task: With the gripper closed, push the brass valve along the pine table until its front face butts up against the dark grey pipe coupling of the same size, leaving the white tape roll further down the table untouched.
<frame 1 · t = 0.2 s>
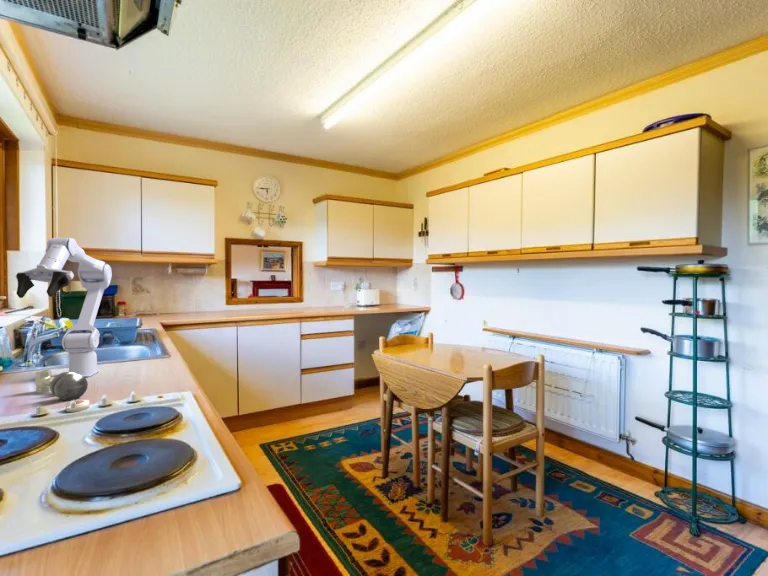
hand: (34, 295, 120), 31 cm above the countertop, tool tilted 45°, fingers open, 7 cm apart
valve: (54, 393, 125), on the countertop
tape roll: (77, 409, 109), on the countertop
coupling: (69, 398, 118), on the countertop
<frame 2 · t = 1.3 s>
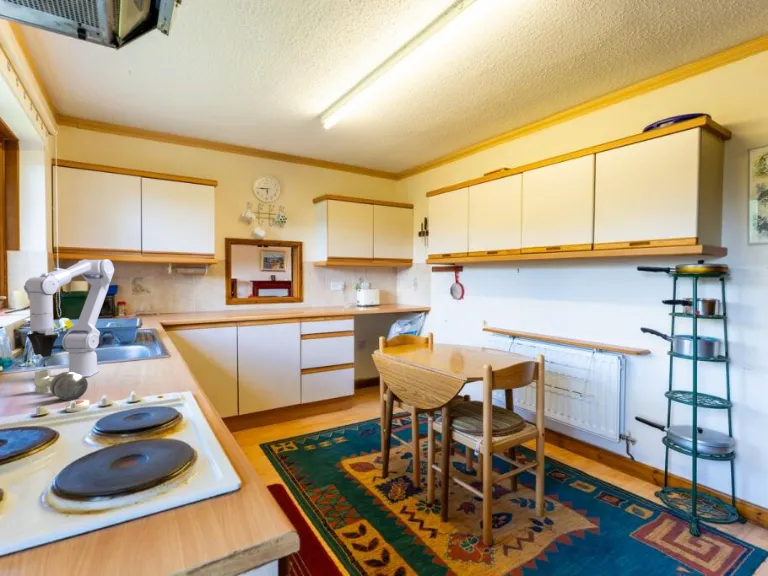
hand: (42, 355, 131), 10 cm above the countertop, tool pointing down, fingers open, 6 cm apart
nothing on the countertop moved.
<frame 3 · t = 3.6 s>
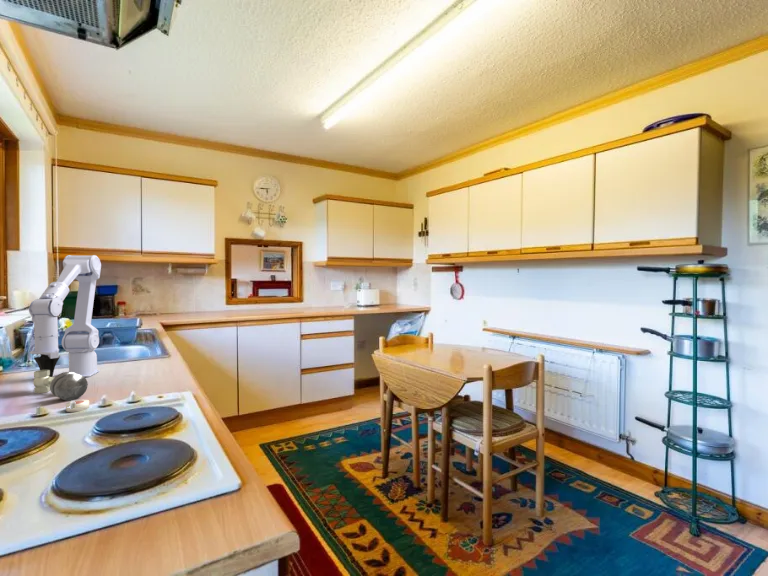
hand: (47, 378, 129), 3 cm above the countertop, tool pointing down, fingers closed
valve: (52, 393, 125), on the countertop, touching gripper
everything else where it was.
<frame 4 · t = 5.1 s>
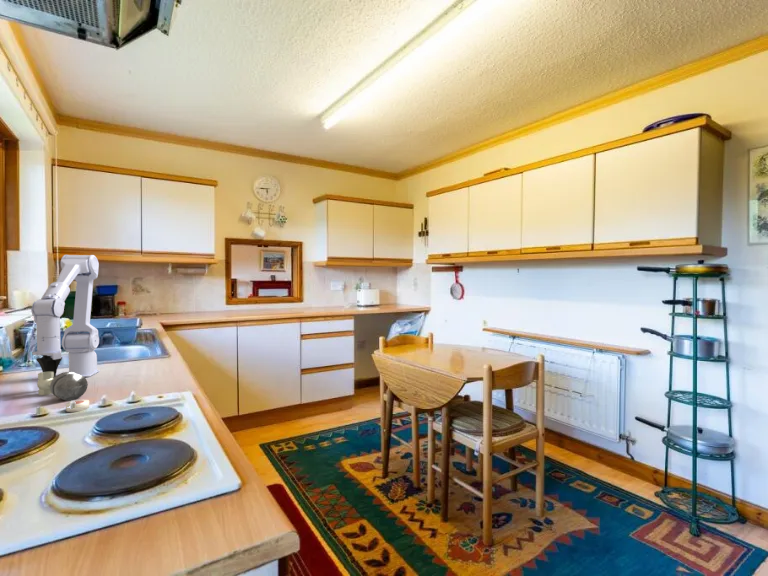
hand: (49, 379, 128), 3 cm above the countertop, tool pointing down, fingers closed
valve: (57, 394, 123), on the countertop
everything else where it was.
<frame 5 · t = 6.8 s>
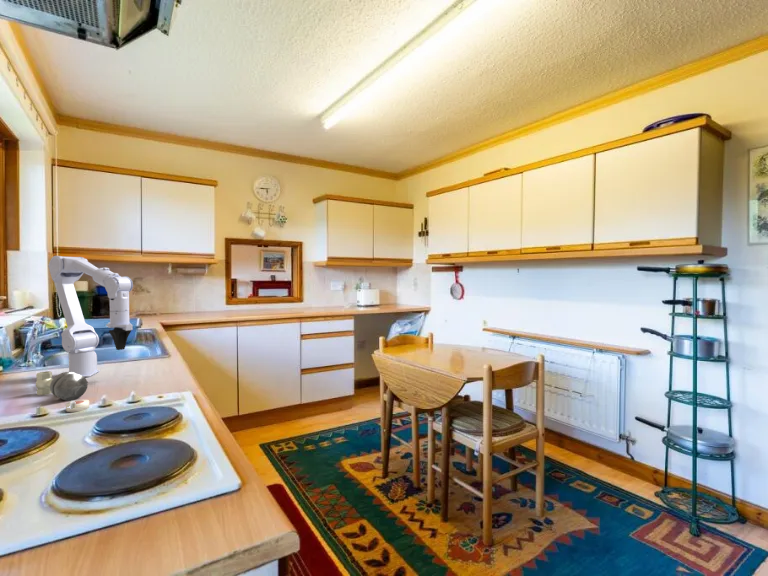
hand: (120, 349, 141), 10 cm above the countertop, tool pointing down, fingers closed
nothing on the countertop moved.
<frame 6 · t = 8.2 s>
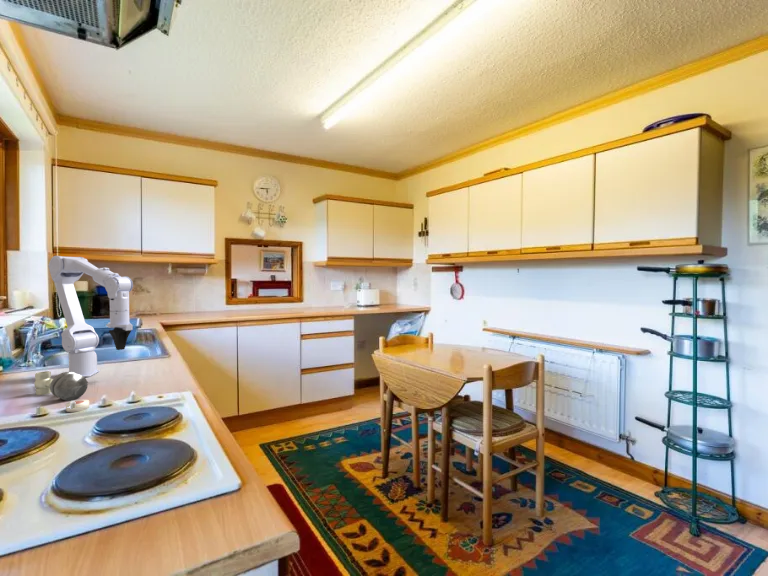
hand: (120, 349, 141), 10 cm above the countertop, tool pointing down, fingers closed
nothing on the countertop moved.
at the end: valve 1.3 cm from the target spot on the countertop beside the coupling, on the countertop; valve tilted 0°; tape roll moved 0.1 cm from its start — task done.
